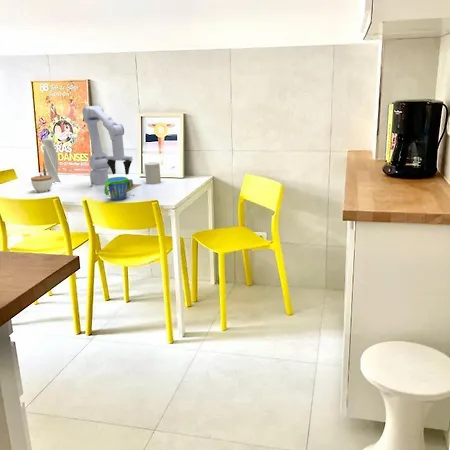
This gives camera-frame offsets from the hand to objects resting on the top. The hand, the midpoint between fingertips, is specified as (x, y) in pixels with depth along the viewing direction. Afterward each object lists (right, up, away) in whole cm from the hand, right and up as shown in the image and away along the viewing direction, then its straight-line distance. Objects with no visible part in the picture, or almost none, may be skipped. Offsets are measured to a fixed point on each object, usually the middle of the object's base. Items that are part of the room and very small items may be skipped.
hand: (120, 174), depth 259 cm
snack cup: (+2, -14, -13) cm, 19 cm away
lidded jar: (-45, -8, +11) cm, 47 cm away
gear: (+2, -6, +8) cm, 10 cm away
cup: (+15, -4, +16) cm, 23 cm away
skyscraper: (-47, -2, +33) cm, 57 cm away
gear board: (+1, -8, +6) cm, 10 cm away
